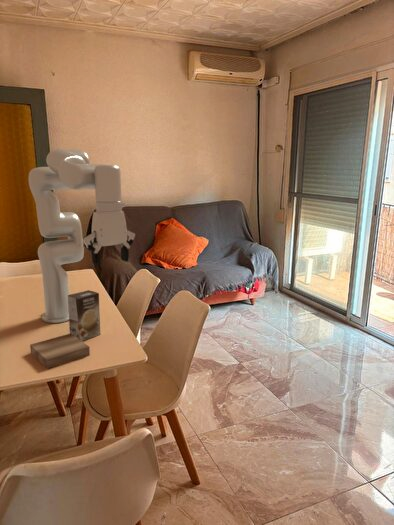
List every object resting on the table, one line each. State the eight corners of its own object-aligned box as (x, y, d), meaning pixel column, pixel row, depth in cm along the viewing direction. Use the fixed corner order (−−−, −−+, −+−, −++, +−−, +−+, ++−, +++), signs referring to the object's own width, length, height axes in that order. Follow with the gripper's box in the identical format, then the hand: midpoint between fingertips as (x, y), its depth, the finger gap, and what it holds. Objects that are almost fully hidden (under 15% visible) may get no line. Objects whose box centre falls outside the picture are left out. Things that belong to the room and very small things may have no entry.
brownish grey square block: (30, 353, 131) (30, 344, 130) (71, 341, 140) (70, 333, 139) (47, 368, 121) (46, 359, 120) (89, 355, 130) (89, 346, 129)
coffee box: (80, 342, 139) (77, 299, 135) (69, 337, 143) (66, 295, 139) (101, 334, 146) (99, 292, 142) (90, 329, 150) (88, 289, 146)
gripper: (127, 205, 127) (128, 257, 130) (76, 208, 115) (79, 265, 119) (140, 206, 121) (141, 261, 125) (88, 210, 110) (91, 269, 114)
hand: (111, 263), depth 122 cm, fingers open, 9 cm apart
